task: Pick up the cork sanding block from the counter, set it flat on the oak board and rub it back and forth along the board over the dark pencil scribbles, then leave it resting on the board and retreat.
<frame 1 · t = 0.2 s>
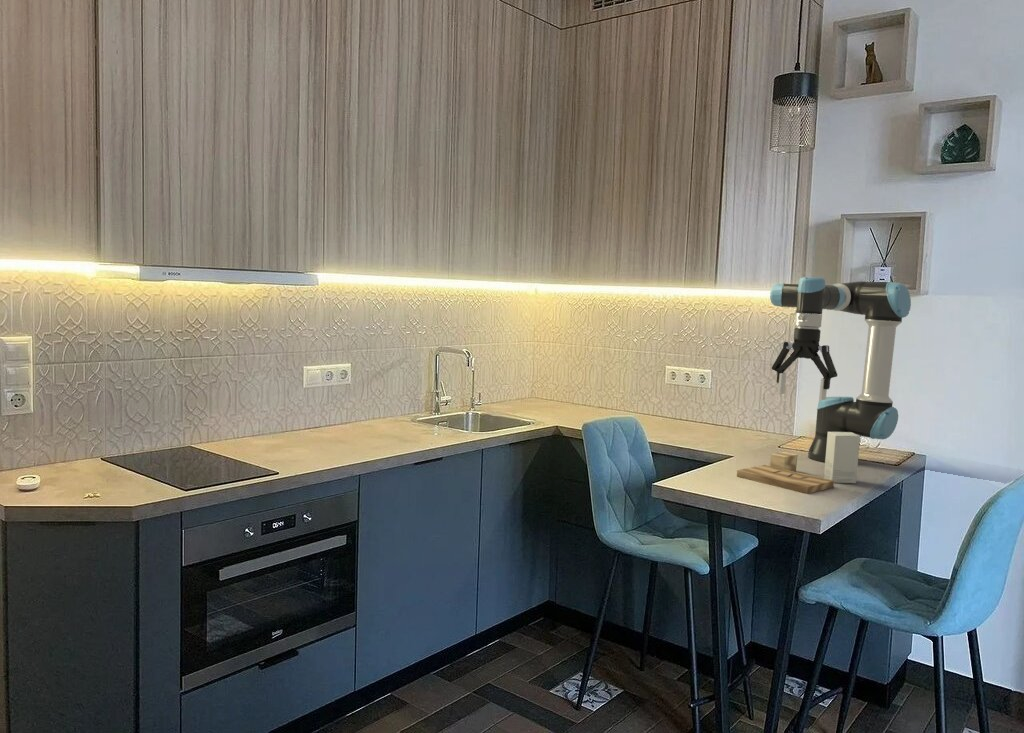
hand: (801, 396, 242), 27 cm above the worktop, fingers open, 13 cm apart
sanding block: (782, 472, 261), on the worktop
skincare box: (839, 481, 252), on the worktop
board: (784, 481, 247), on the worktop
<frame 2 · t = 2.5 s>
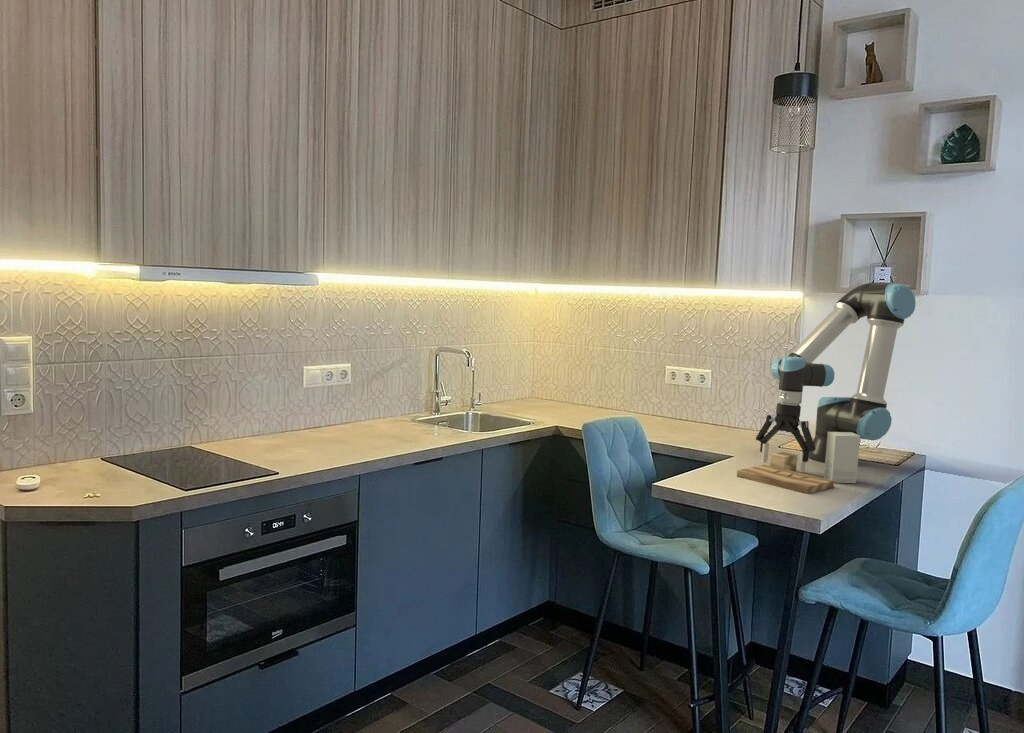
hand: (782, 466, 261), 2 cm above the worktop, fingers open, 13 cm apart
nothing on the worktop moved.
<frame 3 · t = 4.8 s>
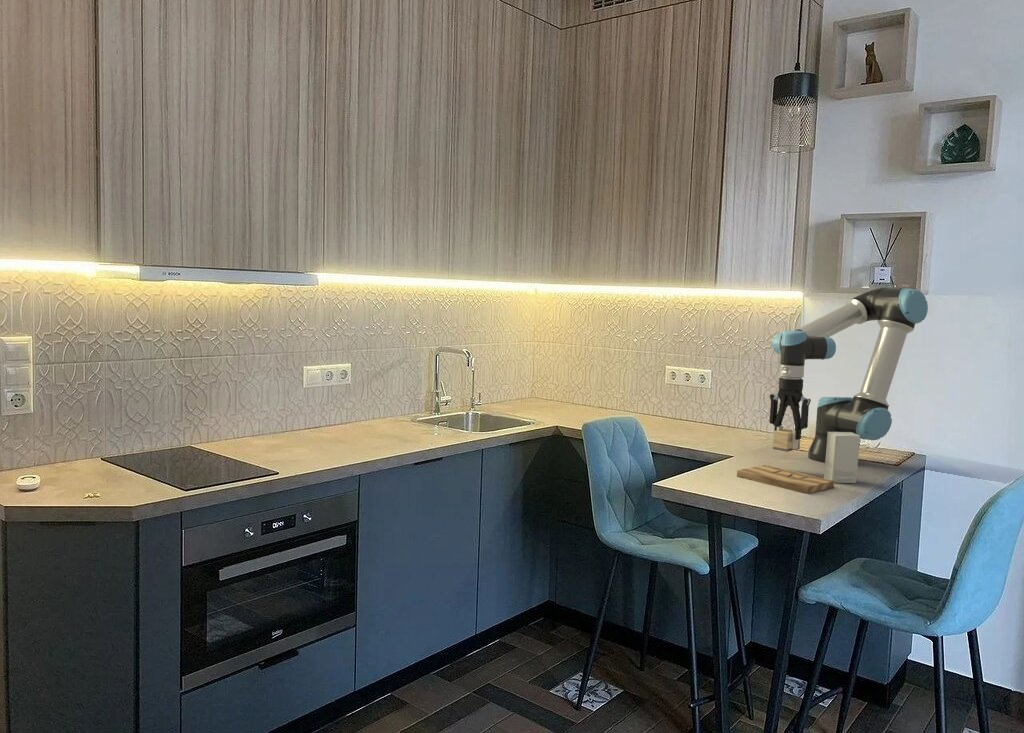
hand: (786, 447, 261), 8 cm above the worktop, fingers closed on sanding block, 5 cm apart
sanding block: (786, 449, 261), point 8 cm above the worktop, touching gripper
everything else where it was.
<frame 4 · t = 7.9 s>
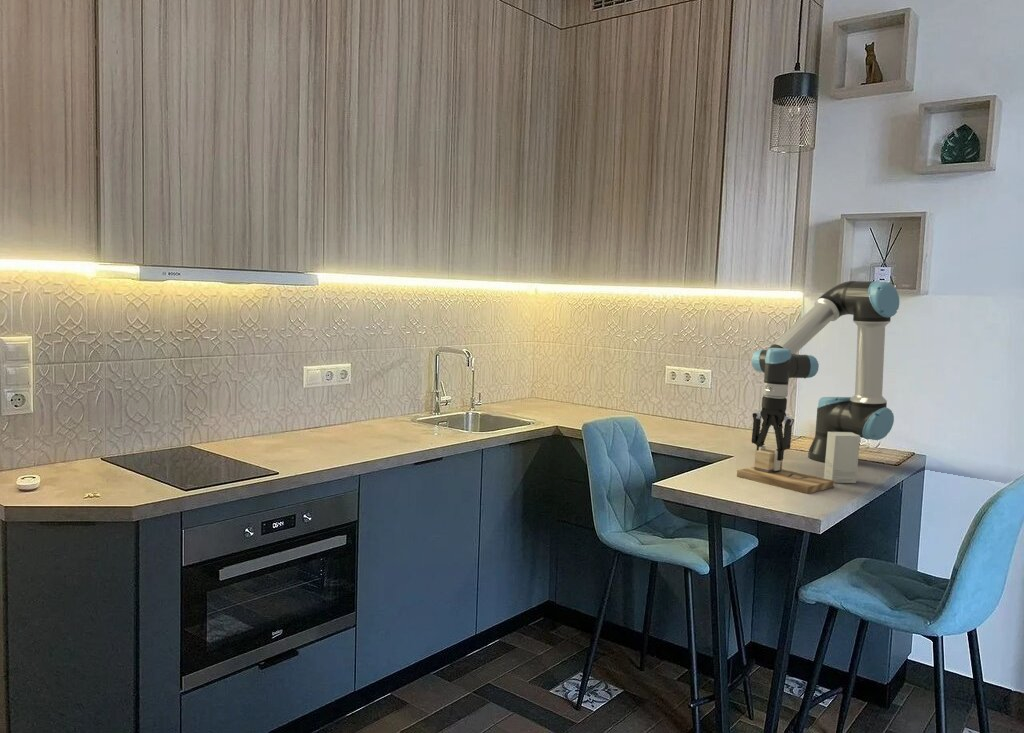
hand: (768, 468, 253), 3 cm above the worktop, fingers closed on sanding block, 5 cm apart
sanding block: (767, 469, 253), point 2 cm above the worktop, touching gripper
everything else where it was.
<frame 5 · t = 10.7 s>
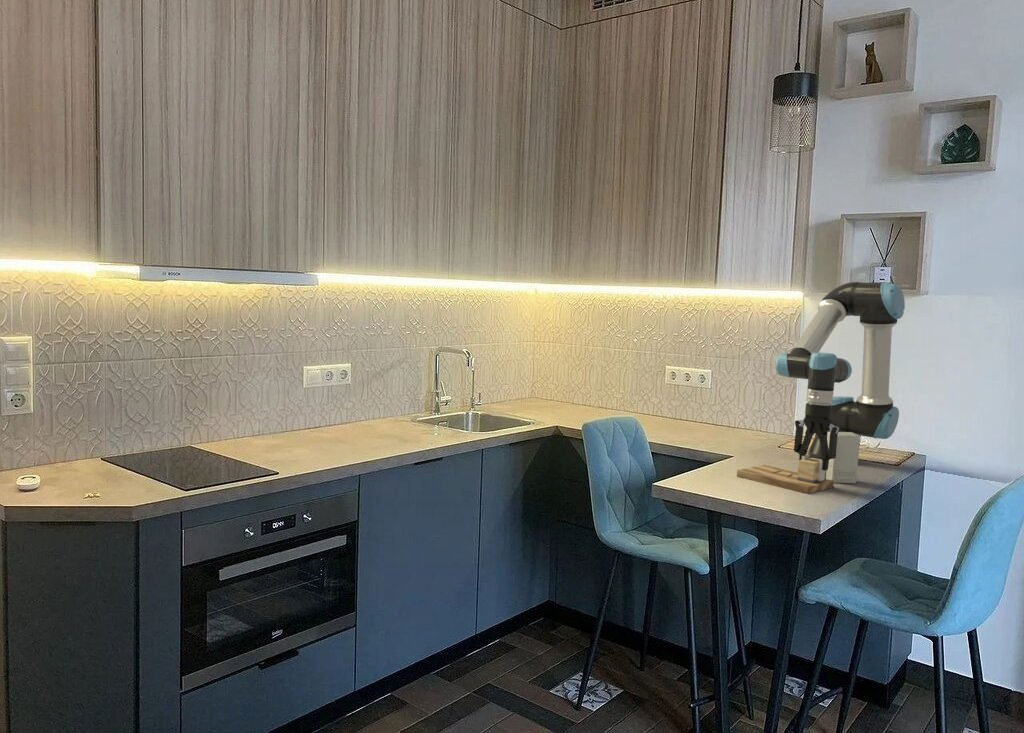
hand: (812, 478, 242), 3 cm above the worktop, fingers closed on sanding block, 5 cm apart
sanding block: (811, 479, 242), point 2 cm above the worktop, touching gripper
everything else where it was.
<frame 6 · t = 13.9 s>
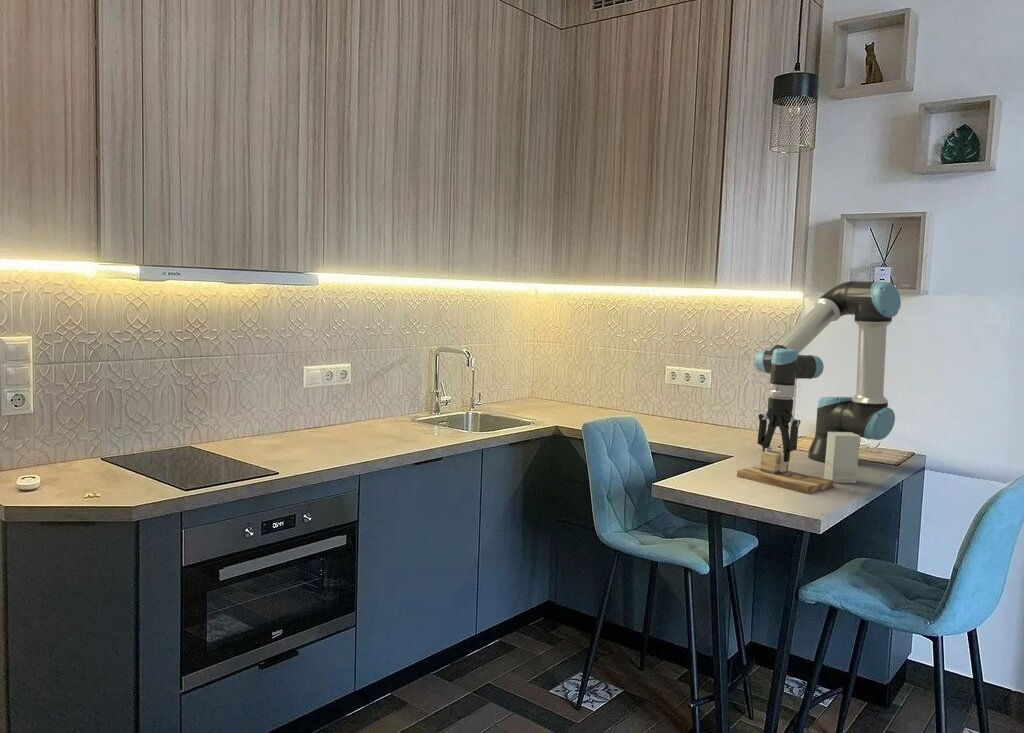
hand: (774, 469, 252), 3 cm above the worktop, fingers closed on sanding block, 5 cm apart
sanding block: (774, 471, 251), point 2 cm above the worktop, touching gripper
everything else where it was.
when the fingers open (3 cm above the worktop, at t = 16.8 s): sanding block stays where it is, resting on board.
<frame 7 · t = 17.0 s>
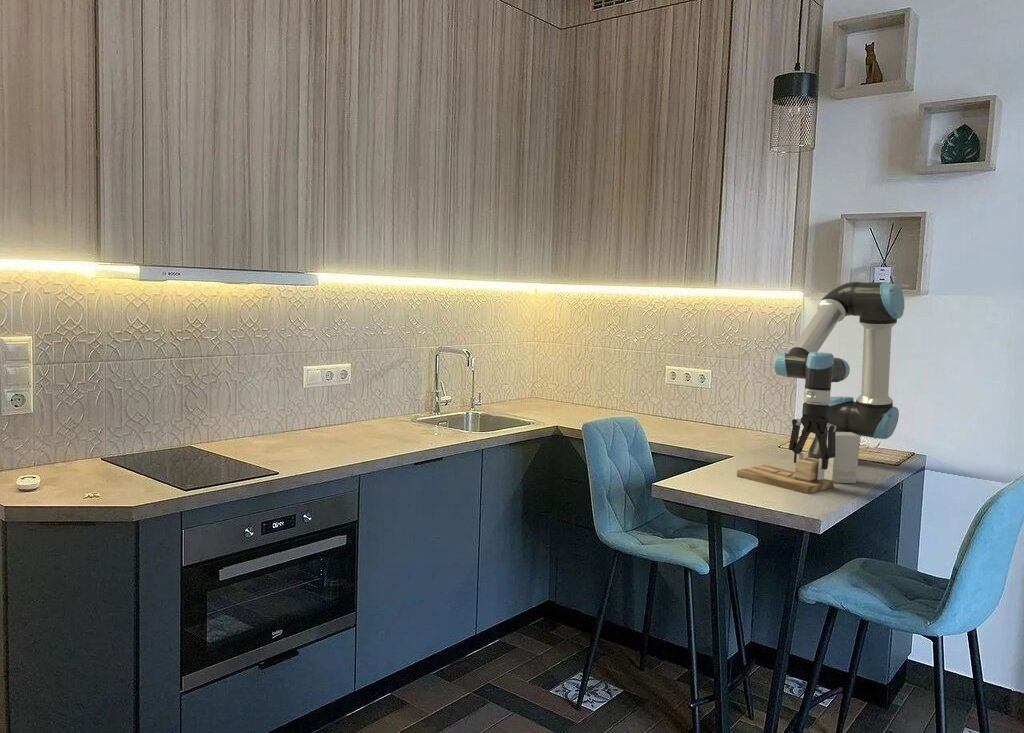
hand: (809, 476, 243), 3 cm above the worktop, fingers open, 7 cm apart
sanding block: (808, 479, 243), point 2 cm above the worktop, touching board
everything else where it was.
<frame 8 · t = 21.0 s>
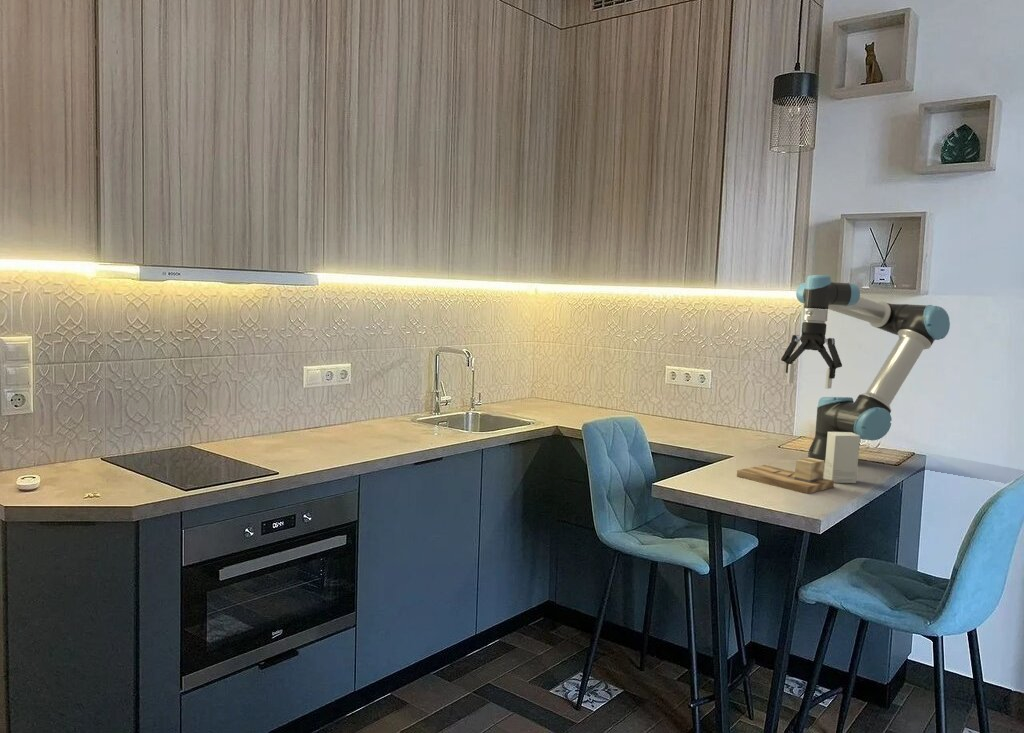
hand: (808, 385, 262), 29 cm above the worktop, fingers open, 13 cm apart
nothing on the worktop moved.
at the end: sanding block inside the target area on the board (7.2 cm from its centre), point 2.0 cm above the board's base; sanding block tilted 0°; sanding block touching board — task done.
